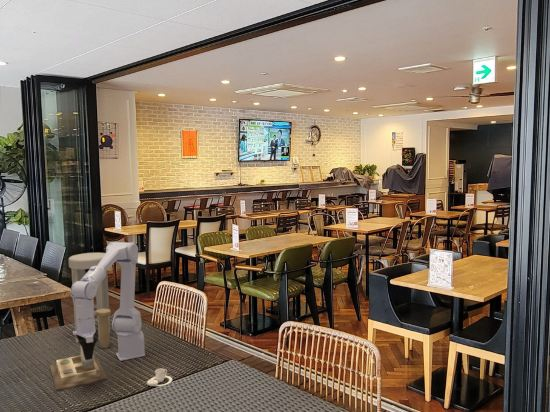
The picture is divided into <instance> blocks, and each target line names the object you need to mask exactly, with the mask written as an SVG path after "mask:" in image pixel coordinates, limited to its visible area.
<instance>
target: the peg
mask: <svg viewBox="0 0 550 412" xmlns="http://www.w3.org/2000/svg"><path fill="white" fill-rule="evenodd" d="M79 347H80V355H81V365H82V367H90V366H92V365H94V356H95V350H94V351H93V357H92V359H89V360H85V357H84V353H83V349H82V346H81V345H80V344H79Z"/></svg>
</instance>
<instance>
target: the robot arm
mask: <svg viewBox="0 0 550 412" xmlns="http://www.w3.org/2000/svg"><path fill="white" fill-rule="evenodd" d="M105 253H106V254H105V255H104V257H103V258H102V260H101V261H100V262H99V264H98V265H97V266H93V267H91V268H90V269H88V271H87V272H85V276H84V277H83V278H82V279H81V280H80V281H77V282H75V283H74V284H73V285H71V288H70V291H69V294H70V297H71V298H72V303H73V305H74V304H75V312H76V328H77V330H76V331H75V330H73V331H72V335H73V336H75V335H76V336H75V338H76V337H77V338H78V341H79V342H78V344H79V346H80V345H81V346H82V349H83V353H84V357H85V360H89V359H92V357H93V351H94V352H95V346H96V344H97V342H98V337H94V335H95V333H96V332H97V329H96V323H95V318H96V317H95V315H94V311H95V308H94V305H95V304H94V302H95V301H94V298H95V297H96V293H97V289H98V286H99V284H100V283H101V282H102V281H103V279H104V278H105V277H106V271H107V272H108V270H109V269H110V267H112V265H113V264H115V262H116V263H117V264H119V266H120V267H121V269H120V270H121V271H120V294H119V295H120V297H119V307H118V309H117V310H116V311H114V312H113V319H112V321H111V329H112V330H113V331H114V332H115V335H117V350H118V352H115V355H116V357H117V358H118V361H120V362H122V361H126V360H131V359H132V360H133V359H137V358H140V357H141V358H142V357H145V356H146V351H145V349H146V347H145V337H144V336H145V335H144V332H143V331H142V330H141V329H142V326H143V325H142V324H143V321H142V316H141V315H142V314H141V311H140V310H138V309H137V308H135V291H136V288H135V287H136V265H137V264H138V261H139V247H138V246H137V244H136V243H135V242H133V241H131V242H125V241H124V242H123V241H121V242H120V241H119V242H118V241H116V242H115V241H110V242H109V243H108V245H107V246H106V248H105Z"/></svg>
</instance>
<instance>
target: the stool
mask: <svg viewBox="0 0 550 412" xmlns="http://www.w3.org/2000/svg"><path fill="white" fill-rule="evenodd" d="M105 254H106V252H85V253H79V254H74V255H71V256H69V258H68V268H70V270H71V282H72V283H71V284H72V285H73V284H74V283H75V282H77V281H80V280H81V279H82V278H83V277H84V276H85V274H86V270H90V268H91V267H93V266H97V265H98V264H99V262H100V261H101V260H102V258H103V257H104V255H105ZM72 285H71V286H72ZM95 297H96V304H94V309H96V310H98V309H110V303H109V301H110V300H109V283H108V270H107V271H106V277H105V278H104V279H103V281H102V282H101V283H100V284H99V286H98V289H97V293H96V296H95ZM96 310H94V316H97V315H96ZM73 315H74V316H73V317H74V331H76V330H77V328H76V312H75V304H74V303H73ZM94 318H95V322H97V335H98V337H97V338H98V342H100V337H99V316H97V317H94ZM110 318H111V317H110V315H109V316H108V323H109V331H110V332H111V322H110V321H111V319H110ZM74 336H75V343H79V341H78V338H77V337H76V335H74Z"/></svg>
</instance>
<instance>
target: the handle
mask: <svg viewBox="0 0 550 412" xmlns="http://www.w3.org/2000/svg"><path fill="white" fill-rule="evenodd" d="M95 311H96V315H95V316H99V337H100V341H99V344H100V347H101V349H107V348H110V341H111V340H110V339H111V338H110V337H111V334H110V332H111V330H110V331H109V323H108V316H110V315H111V313H112V311H111V309H110V308H109V309H98V310H97V309H96V310H95ZM99 337H98V338H99Z"/></svg>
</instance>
